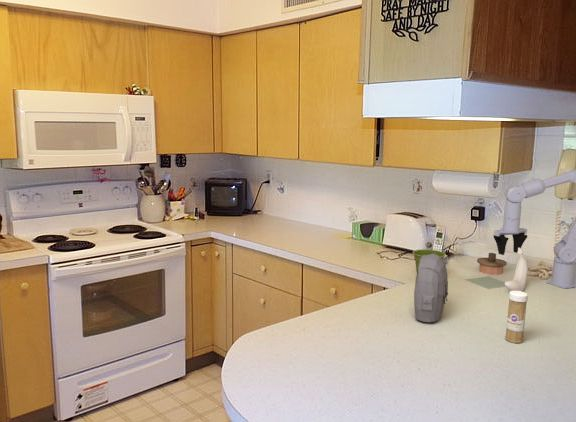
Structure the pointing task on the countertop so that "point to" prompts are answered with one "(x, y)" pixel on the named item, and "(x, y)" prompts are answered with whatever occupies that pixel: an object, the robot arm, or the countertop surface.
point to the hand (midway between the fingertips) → (508, 253)
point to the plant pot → (420, 253)
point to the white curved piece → (518, 274)
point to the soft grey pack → (430, 288)
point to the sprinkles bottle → (516, 316)
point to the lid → (492, 261)
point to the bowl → (491, 270)
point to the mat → (487, 282)
